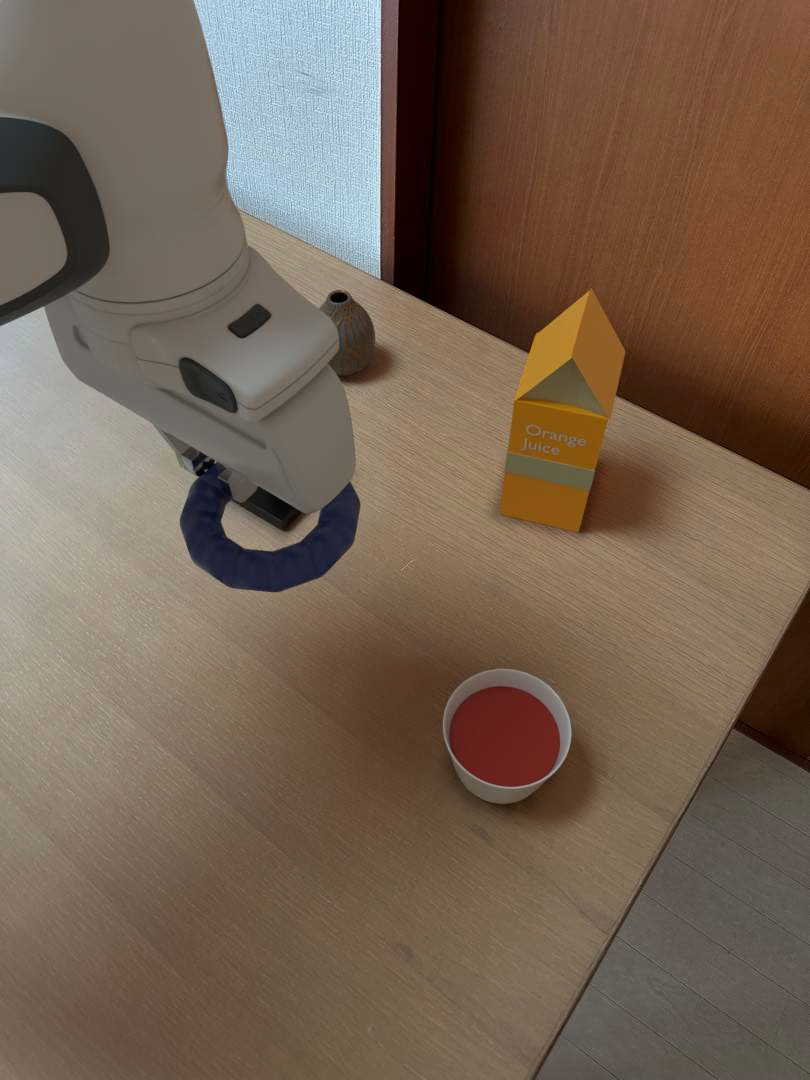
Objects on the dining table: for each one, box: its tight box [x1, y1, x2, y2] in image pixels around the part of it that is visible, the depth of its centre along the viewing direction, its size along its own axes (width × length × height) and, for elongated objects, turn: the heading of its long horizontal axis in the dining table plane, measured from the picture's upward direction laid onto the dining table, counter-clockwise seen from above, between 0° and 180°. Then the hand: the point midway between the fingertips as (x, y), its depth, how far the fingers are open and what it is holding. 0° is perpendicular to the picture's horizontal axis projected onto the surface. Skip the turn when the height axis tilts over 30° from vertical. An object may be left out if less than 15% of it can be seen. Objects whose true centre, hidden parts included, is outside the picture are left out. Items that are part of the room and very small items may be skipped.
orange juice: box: [499, 287, 626, 533], centre depth 72 cm, size 8×9×20 cm
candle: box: [442, 668, 572, 805], centre depth 61 cm, size 9×9×6 cm
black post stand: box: [231, 486, 303, 532], centre depth 76 cm, size 9×9×12 cm
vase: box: [318, 289, 376, 377], centre depth 87 cm, size 7×7×9 cm
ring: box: [179, 461, 361, 593], centre depth 51 cm, size 11×11×2 cm
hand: (220, 479), depth 52 cm, fingers closed on ring, 2 cm apart
